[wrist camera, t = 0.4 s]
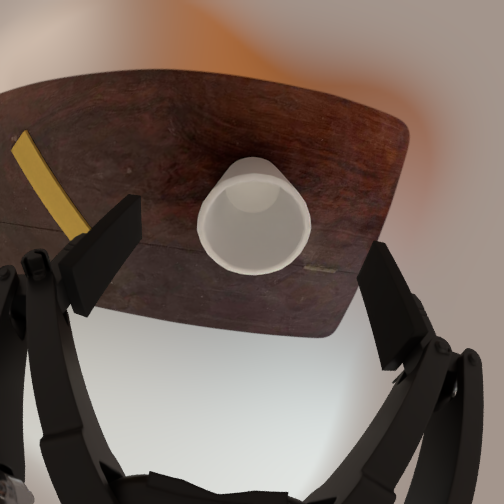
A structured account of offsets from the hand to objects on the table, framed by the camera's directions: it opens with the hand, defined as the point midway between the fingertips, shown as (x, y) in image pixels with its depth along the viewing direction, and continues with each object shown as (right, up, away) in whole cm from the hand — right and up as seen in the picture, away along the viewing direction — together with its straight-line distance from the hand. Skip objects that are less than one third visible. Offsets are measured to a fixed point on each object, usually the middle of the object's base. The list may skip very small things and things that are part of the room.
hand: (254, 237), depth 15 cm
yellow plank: (-32, +9, +19) cm, 38 cm away
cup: (0, +8, +20) cm, 21 cm away
